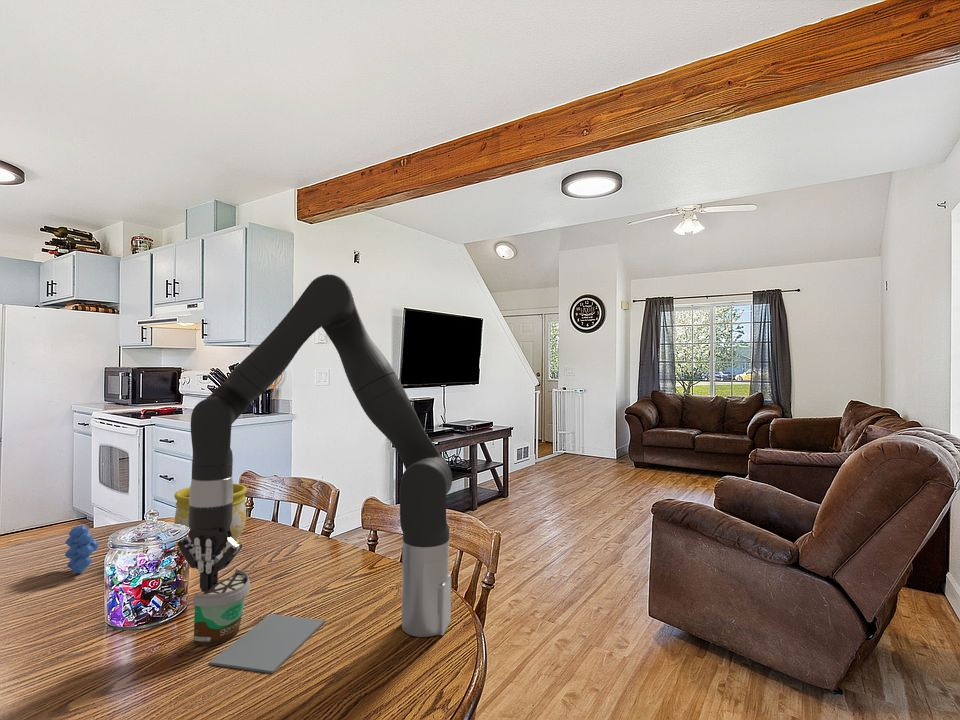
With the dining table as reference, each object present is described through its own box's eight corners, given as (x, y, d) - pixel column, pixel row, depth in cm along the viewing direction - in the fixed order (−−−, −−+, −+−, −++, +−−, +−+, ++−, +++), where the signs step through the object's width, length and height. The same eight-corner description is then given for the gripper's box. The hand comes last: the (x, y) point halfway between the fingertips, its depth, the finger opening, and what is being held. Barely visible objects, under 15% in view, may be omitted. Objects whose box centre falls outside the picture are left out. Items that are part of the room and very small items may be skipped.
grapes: (109, 573, 129) (109, 524, 129) (76, 582, 124) (76, 531, 124) (90, 562, 136) (91, 515, 136) (58, 570, 130) (59, 522, 131)
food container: (217, 656, 94) (223, 601, 94) (187, 648, 95) (193, 594, 95) (259, 622, 106) (264, 573, 106) (232, 615, 107) (237, 567, 107)
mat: (324, 622, 106) (324, 620, 106) (272, 673, 89) (272, 671, 89) (270, 615, 109) (270, 613, 109) (209, 664, 91) (209, 662, 91)
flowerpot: (259, 546, 150) (260, 488, 150) (197, 566, 134) (198, 502, 134) (222, 534, 159) (223, 480, 159) (160, 552, 144) (161, 492, 144)
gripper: (254, 498, 104) (251, 586, 104) (195, 493, 106) (192, 579, 106) (228, 508, 96) (225, 603, 96) (166, 502, 99) (163, 595, 99)
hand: (208, 590), depth 101 cm, fingers closed
